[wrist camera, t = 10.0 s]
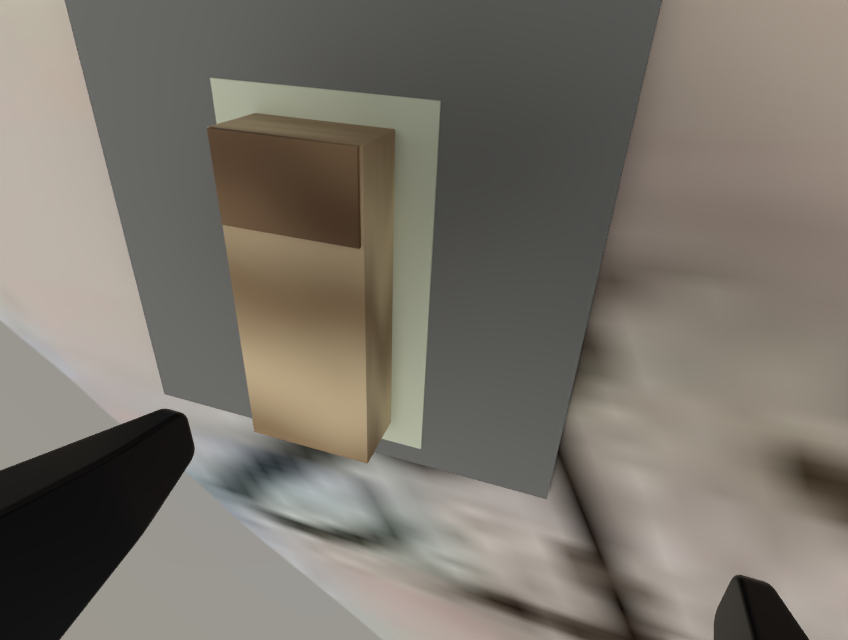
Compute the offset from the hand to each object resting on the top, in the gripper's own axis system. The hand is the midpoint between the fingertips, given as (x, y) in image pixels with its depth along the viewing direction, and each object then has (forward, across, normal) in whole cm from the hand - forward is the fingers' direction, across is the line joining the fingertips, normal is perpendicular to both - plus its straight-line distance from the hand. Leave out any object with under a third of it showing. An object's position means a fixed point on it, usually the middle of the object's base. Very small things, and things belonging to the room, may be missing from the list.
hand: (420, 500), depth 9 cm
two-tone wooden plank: (+11, +7, +3) cm, 13 cm away
